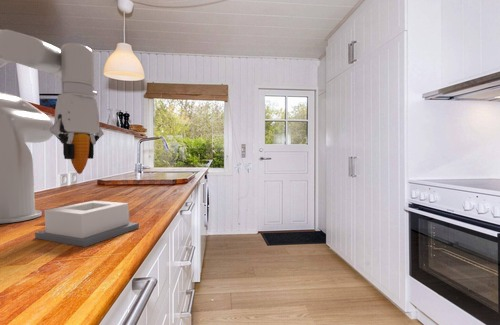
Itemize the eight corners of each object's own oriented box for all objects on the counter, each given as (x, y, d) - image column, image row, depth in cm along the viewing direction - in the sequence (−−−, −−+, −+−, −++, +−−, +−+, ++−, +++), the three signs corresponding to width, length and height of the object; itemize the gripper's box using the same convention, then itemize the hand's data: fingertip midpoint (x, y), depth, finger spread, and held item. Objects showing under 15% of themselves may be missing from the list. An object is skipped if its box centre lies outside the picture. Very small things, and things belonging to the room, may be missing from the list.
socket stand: (35, 238, 60) (33, 210, 60) (93, 222, 73) (92, 199, 73) (84, 247, 54) (83, 215, 53) (138, 228, 67) (138, 203, 66)
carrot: (79, 175, 72) (79, 118, 72) (64, 174, 73) (63, 118, 73) (94, 173, 77) (93, 120, 76) (79, 173, 78) (78, 120, 77)
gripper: (96, 98, 83) (97, 157, 84) (35, 86, 68) (36, 159, 69) (114, 97, 81) (115, 158, 81) (54, 84, 65) (55, 160, 66)
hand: (79, 158), depth 75 cm, fingers closed on carrot, 4 cm apart
